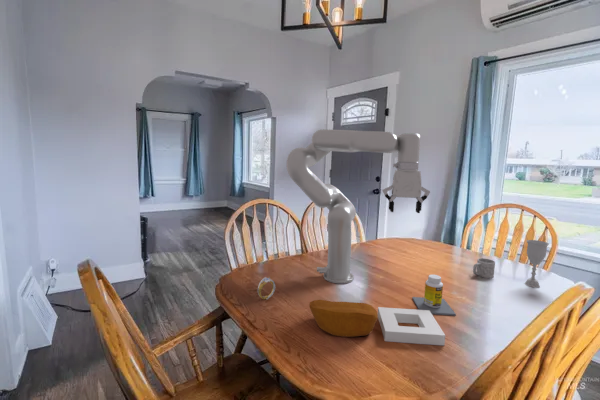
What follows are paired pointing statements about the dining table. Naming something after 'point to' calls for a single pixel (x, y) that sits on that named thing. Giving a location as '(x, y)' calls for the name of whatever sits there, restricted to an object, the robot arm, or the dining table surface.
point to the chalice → (535, 258)
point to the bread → (344, 317)
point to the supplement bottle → (433, 291)
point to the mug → (484, 268)
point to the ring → (263, 285)
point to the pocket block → (420, 335)
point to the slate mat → (442, 310)
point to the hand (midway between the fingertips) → (404, 212)
